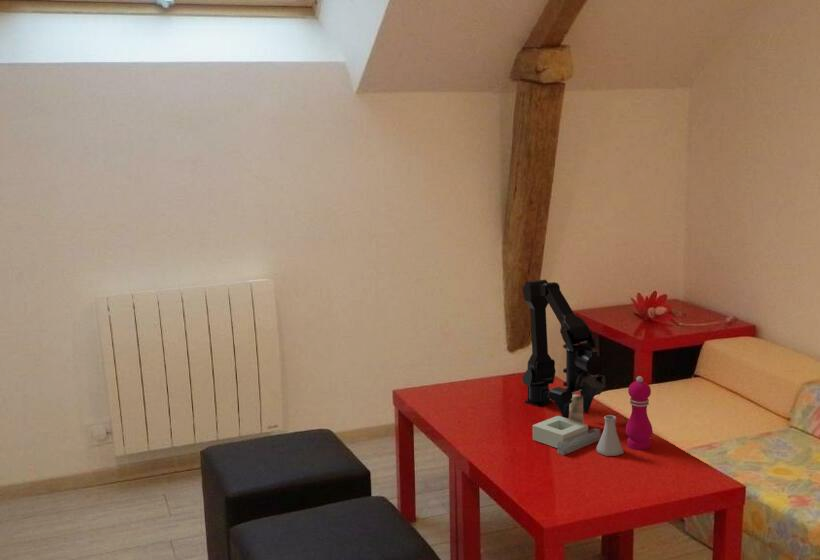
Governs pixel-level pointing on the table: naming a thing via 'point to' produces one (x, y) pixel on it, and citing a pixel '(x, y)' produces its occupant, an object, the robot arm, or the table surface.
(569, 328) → the robot arm
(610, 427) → the flask
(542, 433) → the block
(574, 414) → the dowel
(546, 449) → the table surface
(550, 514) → the table surface
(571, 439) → the bar
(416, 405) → the table surface
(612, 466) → the table surface
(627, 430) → the pepper mill
